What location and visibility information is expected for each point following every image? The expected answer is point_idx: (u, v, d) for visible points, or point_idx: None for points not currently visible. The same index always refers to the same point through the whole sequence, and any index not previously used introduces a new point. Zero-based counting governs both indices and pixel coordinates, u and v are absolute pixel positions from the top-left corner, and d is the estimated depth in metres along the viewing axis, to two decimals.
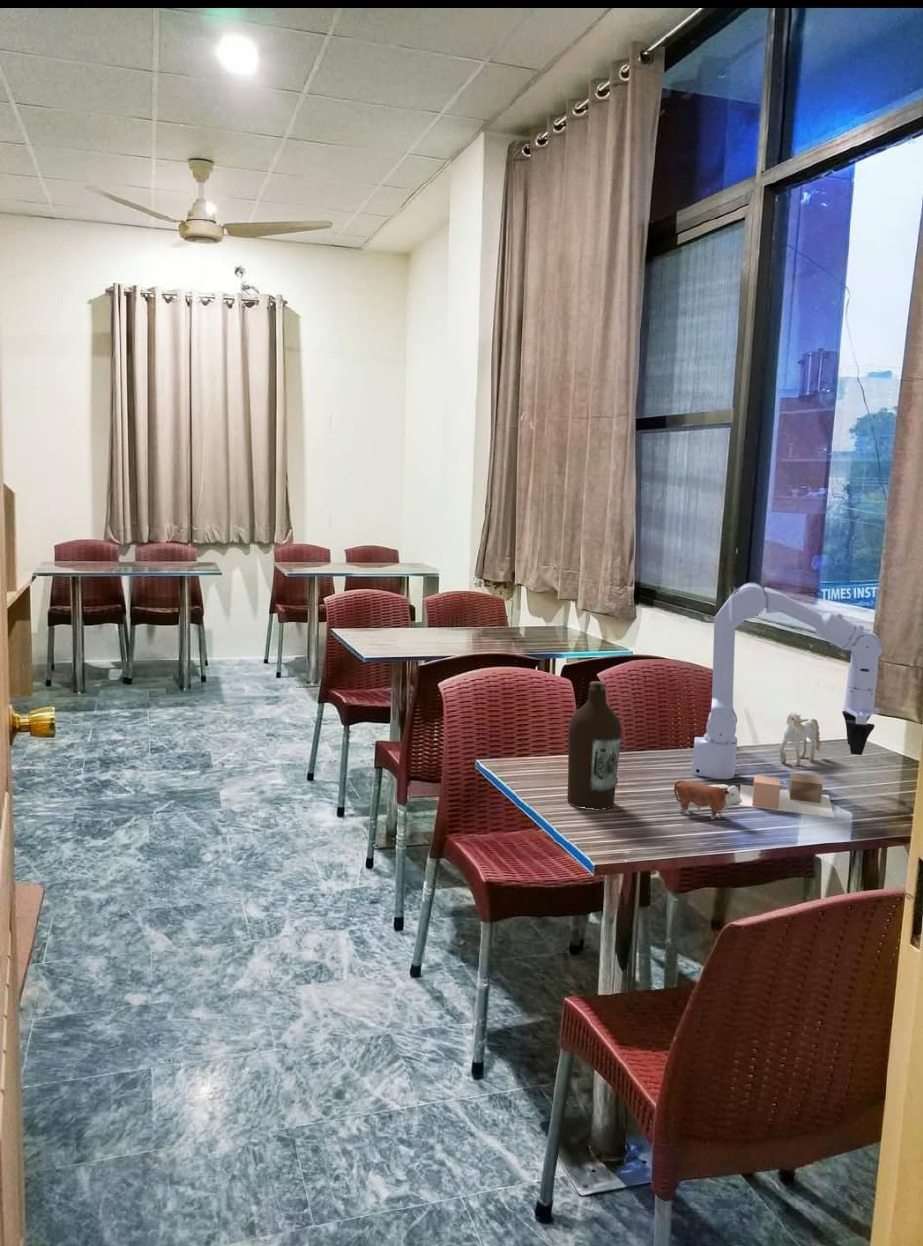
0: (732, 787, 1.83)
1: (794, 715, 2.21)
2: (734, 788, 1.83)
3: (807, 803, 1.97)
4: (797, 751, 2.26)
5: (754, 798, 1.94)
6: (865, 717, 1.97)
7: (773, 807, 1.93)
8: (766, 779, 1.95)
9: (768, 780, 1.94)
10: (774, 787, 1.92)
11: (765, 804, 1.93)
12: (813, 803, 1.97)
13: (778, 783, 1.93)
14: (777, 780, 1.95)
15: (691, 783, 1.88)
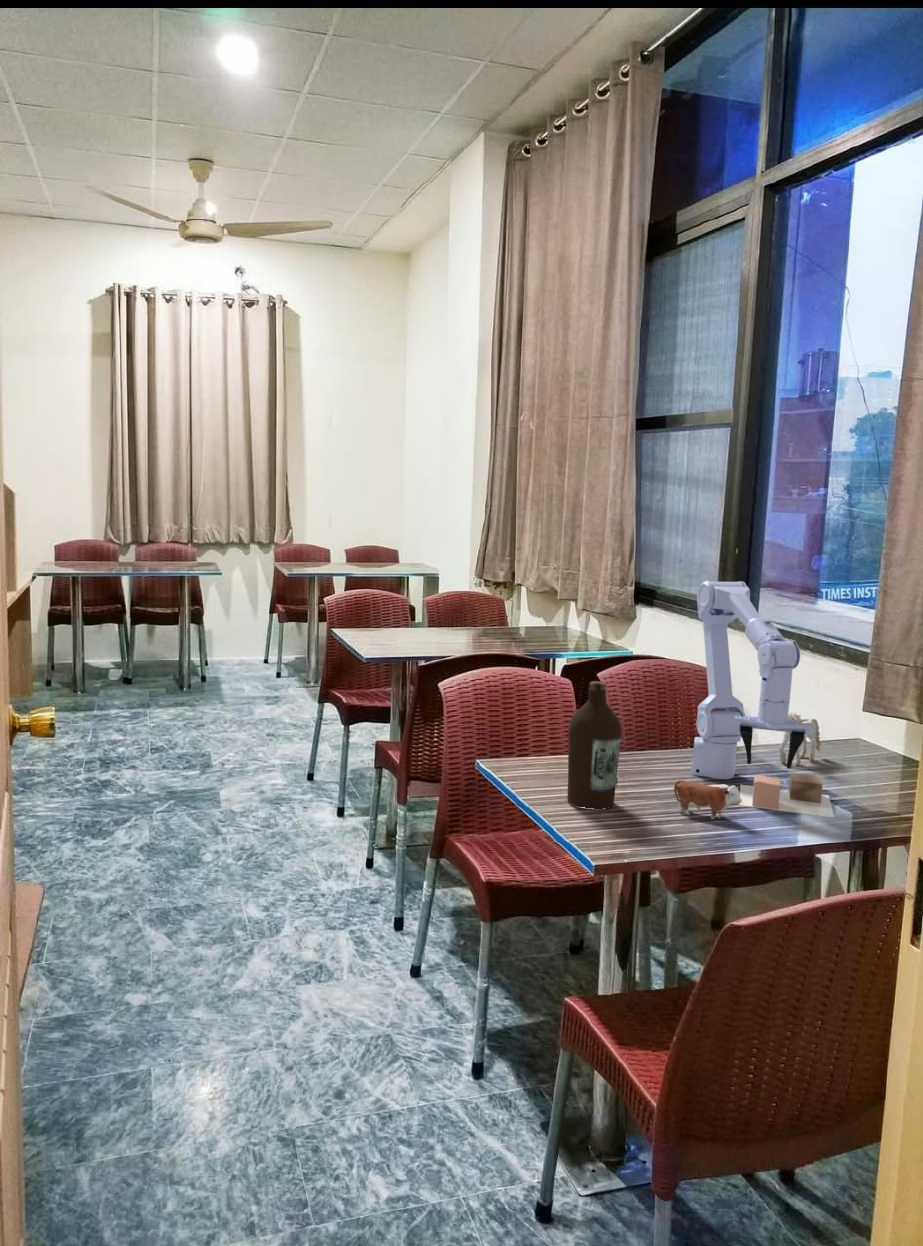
0: (732, 787, 1.83)
1: (794, 715, 2.21)
2: (734, 788, 1.83)
3: (807, 803, 1.97)
4: (797, 751, 2.26)
5: (754, 798, 1.94)
6: (735, 719, 1.94)
7: (773, 807, 1.93)
8: (766, 779, 1.95)
9: (768, 780, 1.94)
10: (774, 787, 1.92)
11: (765, 804, 1.93)
12: (813, 803, 1.97)
13: (778, 783, 1.93)
14: (777, 780, 1.95)
15: (691, 783, 1.88)
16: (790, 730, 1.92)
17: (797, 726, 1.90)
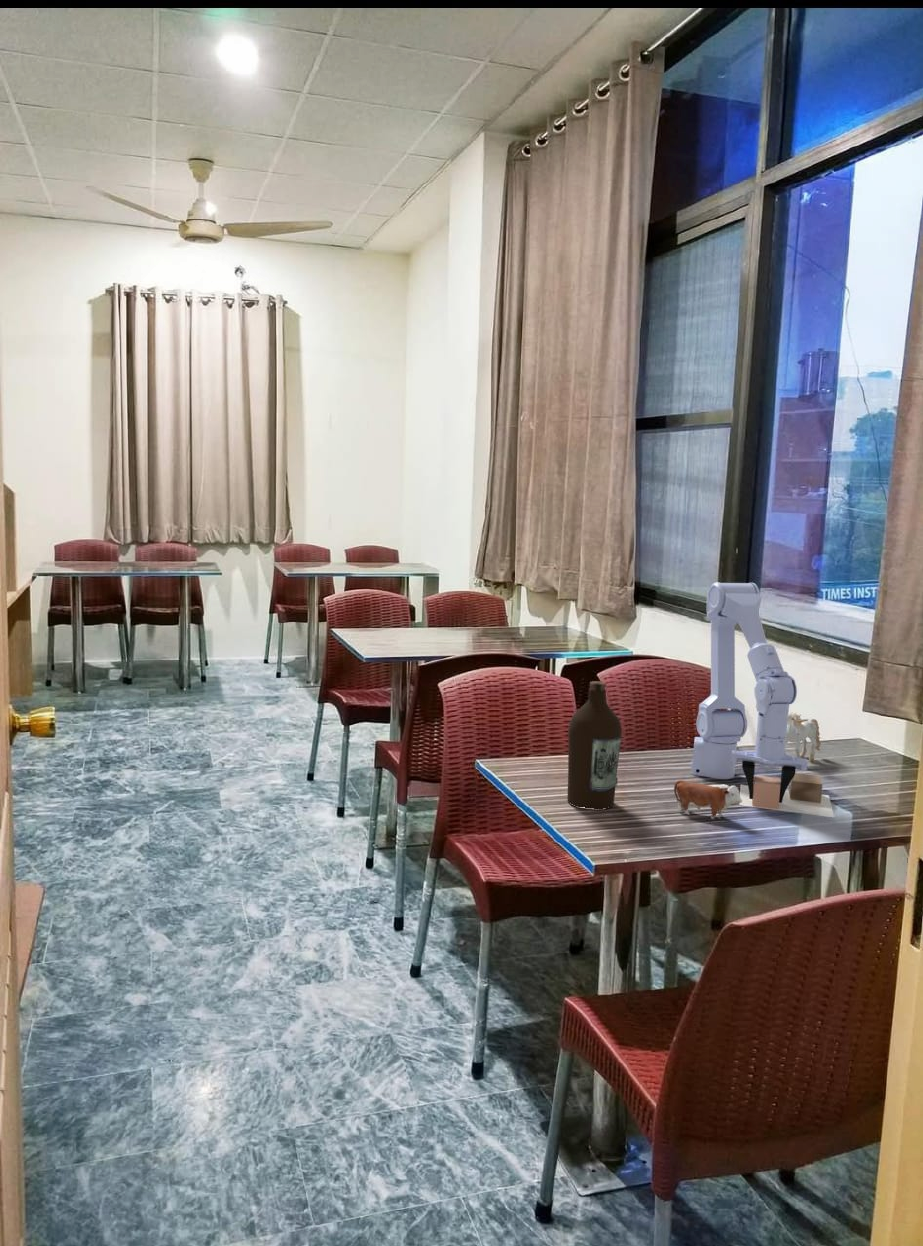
0: (732, 787, 1.83)
1: (794, 715, 2.21)
2: (734, 788, 1.83)
3: (807, 803, 1.97)
4: (797, 751, 2.26)
5: (754, 798, 1.94)
6: (732, 754, 1.95)
7: (773, 807, 1.93)
8: (766, 779, 1.95)
9: (768, 780, 1.94)
10: (774, 787, 1.92)
11: (765, 804, 1.93)
12: (813, 803, 1.97)
13: (778, 783, 1.93)
14: (777, 780, 1.95)
15: (691, 783, 1.88)
16: (787, 765, 1.93)
17: (794, 761, 1.91)
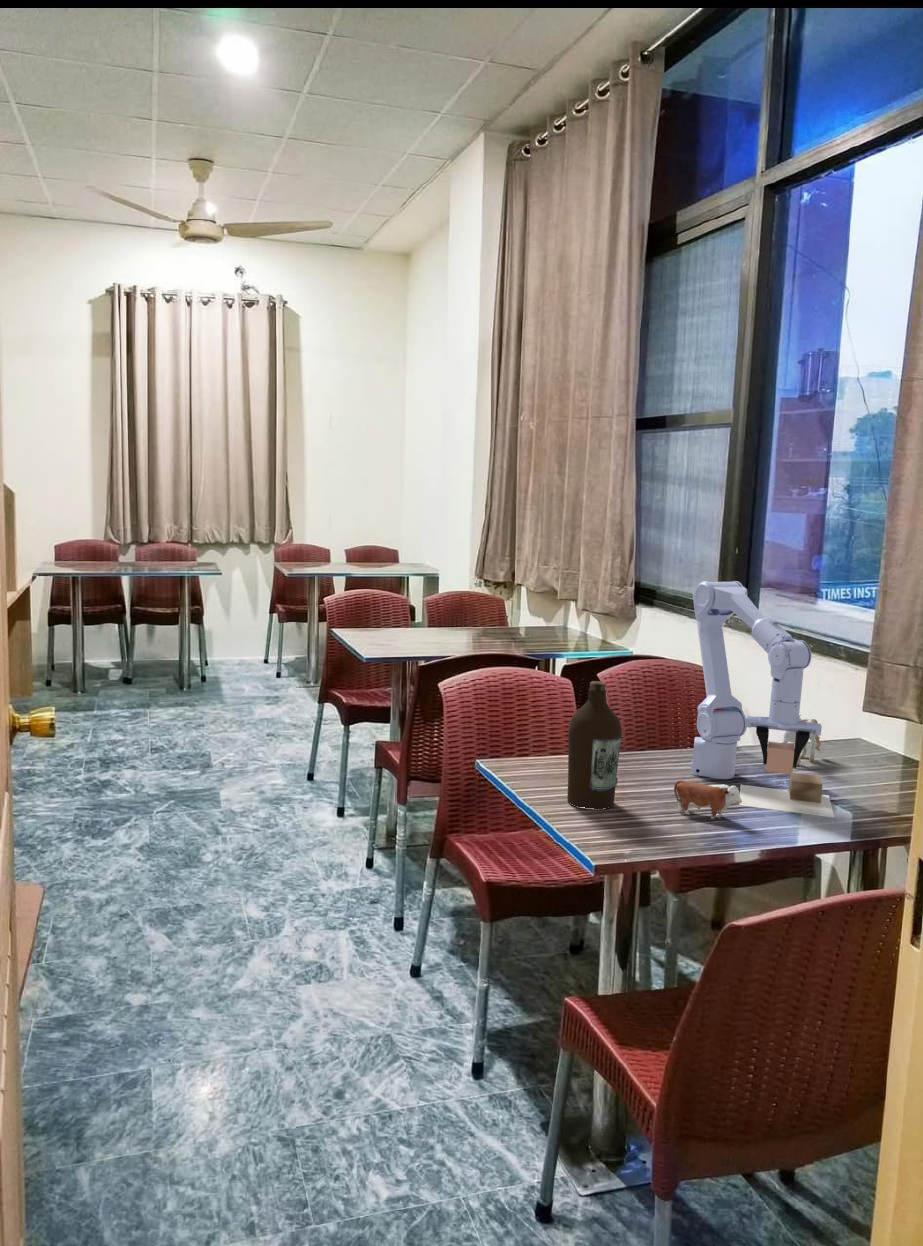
0: (732, 787, 1.83)
1: None
2: (734, 788, 1.83)
3: (807, 803, 1.97)
4: None
5: (768, 764, 1.94)
6: (746, 719, 1.96)
7: (787, 772, 1.93)
8: (780, 745, 1.95)
9: (782, 746, 1.95)
10: (788, 752, 1.92)
11: (779, 769, 1.93)
12: (813, 803, 1.97)
13: (792, 749, 1.93)
14: (791, 746, 1.95)
15: (691, 783, 1.88)
16: (801, 730, 1.93)
17: (808, 726, 1.92)
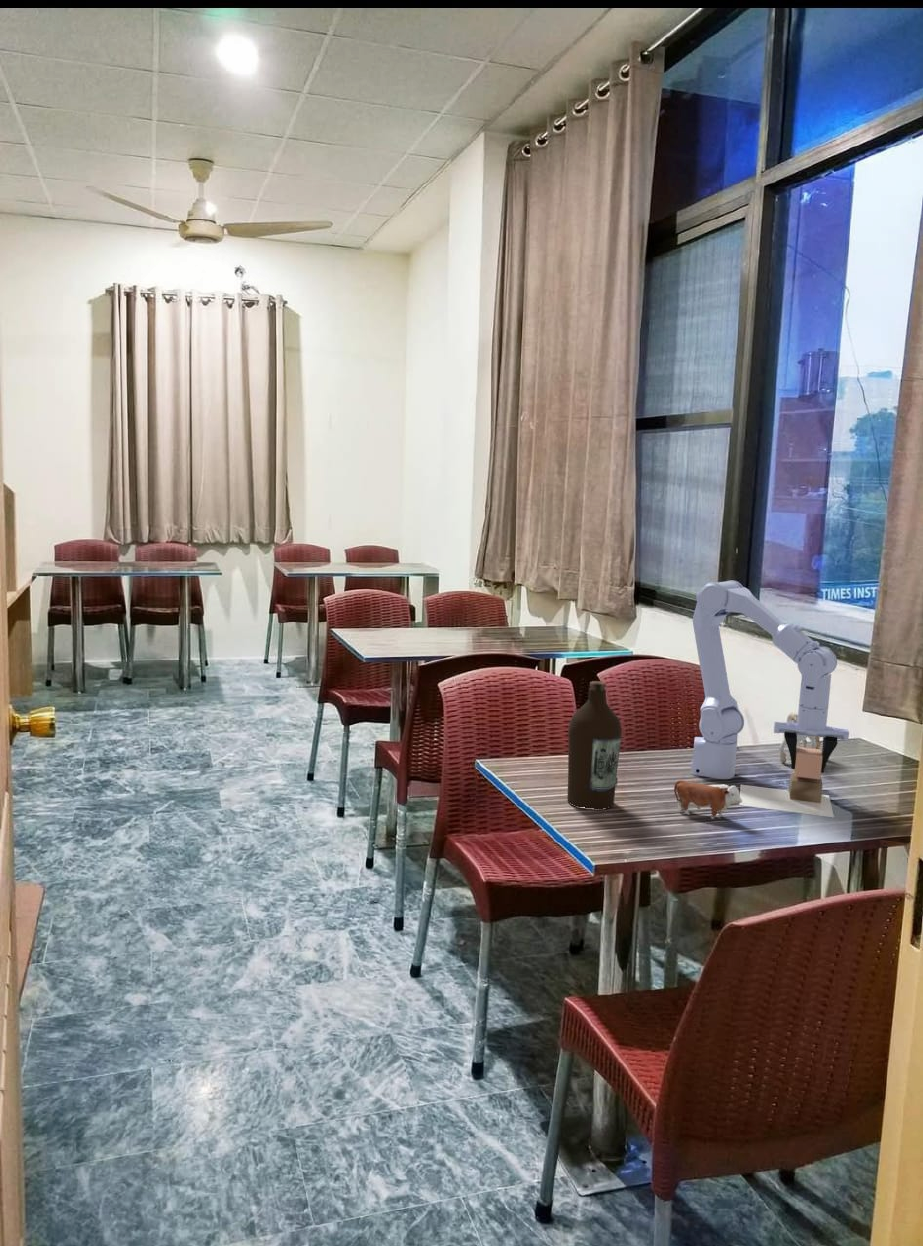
0: (732, 787, 1.83)
1: (794, 715, 2.21)
2: (734, 788, 1.83)
3: (807, 803, 1.97)
4: None
5: (796, 769, 1.98)
6: (774, 725, 2.00)
7: (815, 777, 1.97)
8: (808, 750, 1.99)
9: (810, 751, 1.99)
10: (816, 757, 1.97)
11: (807, 774, 1.98)
12: (813, 803, 1.97)
13: (820, 754, 1.97)
14: (819, 751, 1.99)
15: (691, 783, 1.88)
16: (828, 736, 1.98)
17: (836, 732, 1.96)
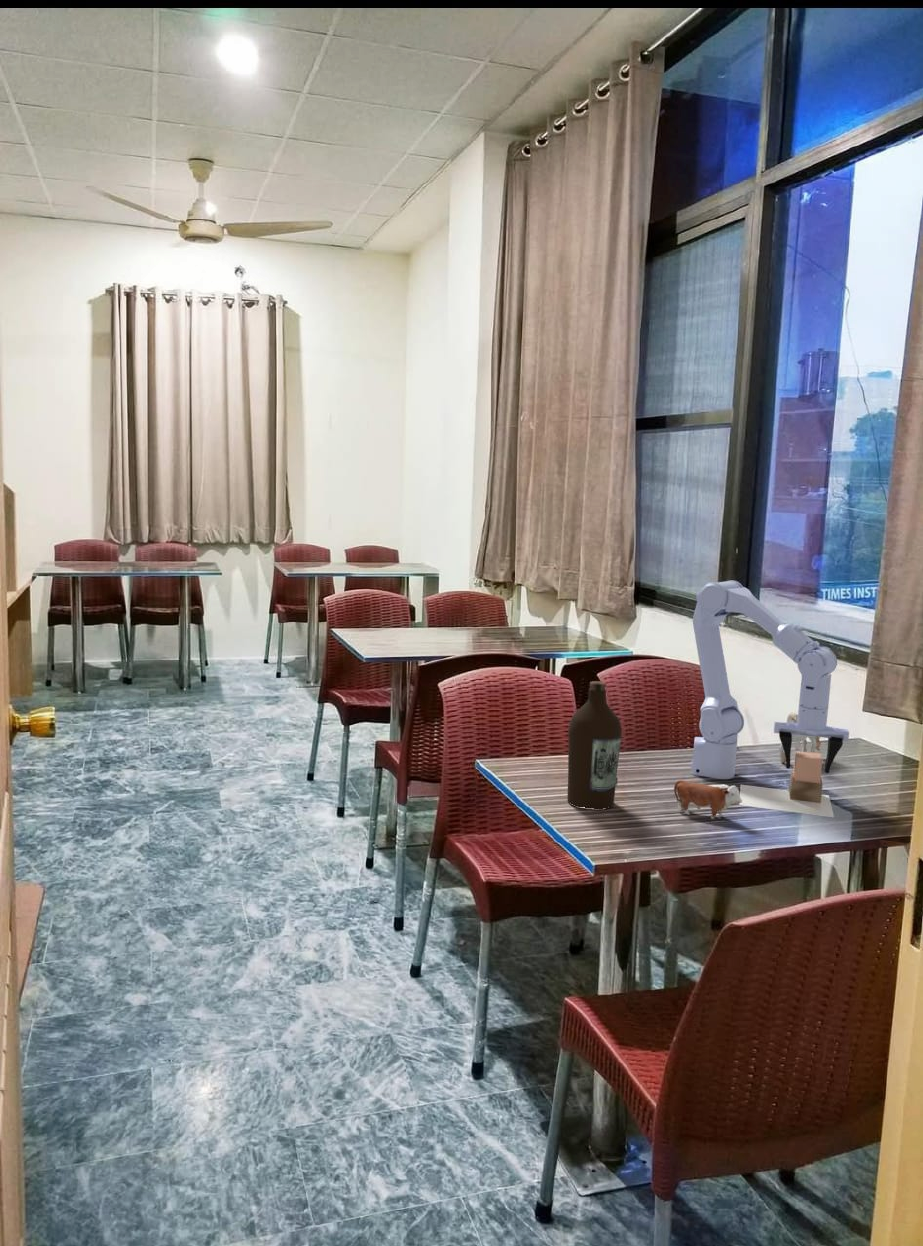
0: (732, 787, 1.83)
1: (794, 715, 2.21)
2: (734, 788, 1.83)
3: (807, 803, 1.97)
4: None
5: (796, 773, 1.98)
6: (774, 725, 2.00)
7: (815, 781, 1.97)
8: (807, 755, 2.00)
9: (809, 756, 1.99)
10: (816, 762, 1.97)
11: (807, 779, 1.98)
12: (813, 803, 1.97)
13: (820, 758, 1.97)
14: (818, 755, 1.99)
15: (691, 783, 1.88)
16: (828, 736, 1.98)
17: (836, 732, 1.96)
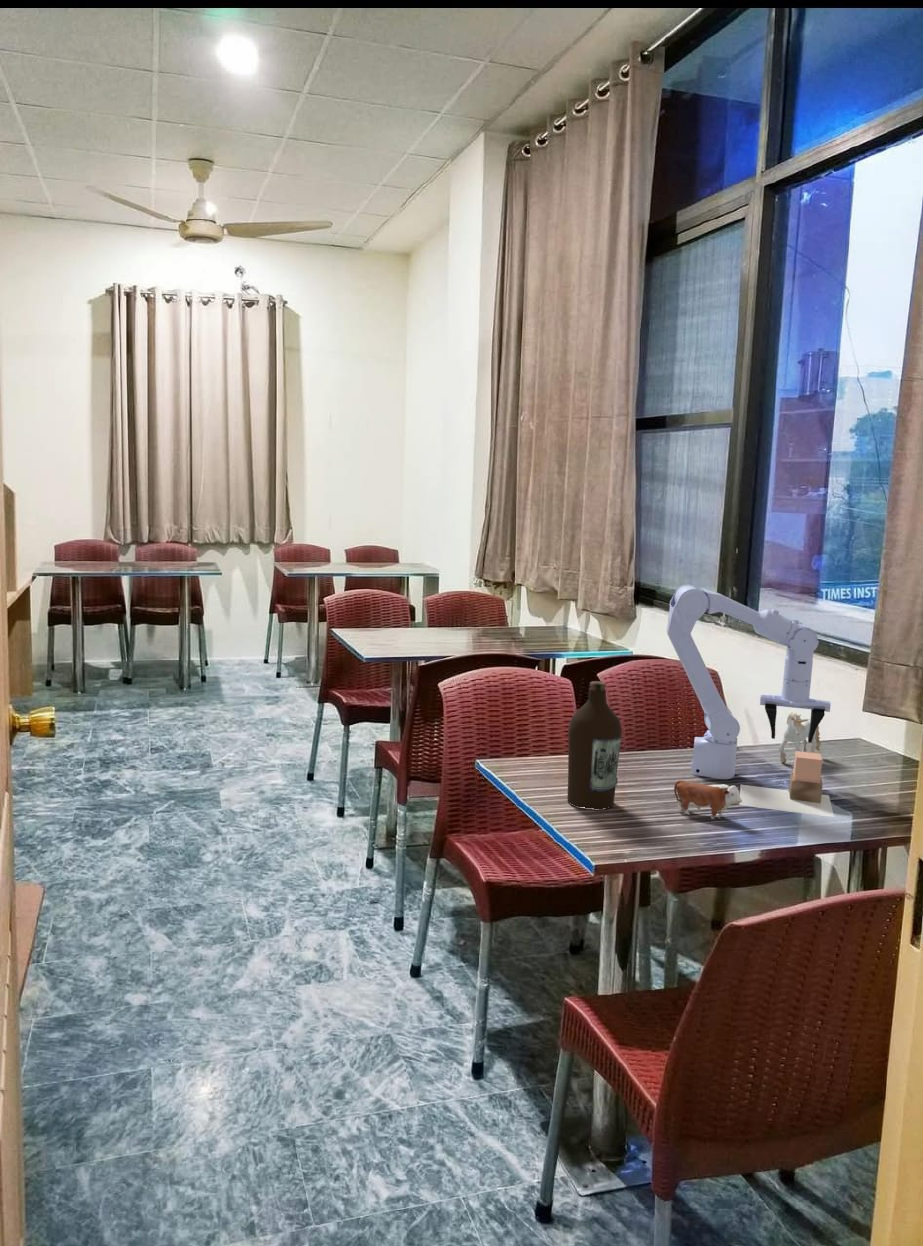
0: (732, 787, 1.83)
1: (794, 715, 2.21)
2: (734, 788, 1.83)
3: (807, 803, 1.97)
4: None
5: (796, 773, 1.98)
6: (760, 697, 2.12)
7: (815, 781, 1.97)
8: (807, 755, 2.00)
9: (809, 756, 1.99)
10: (816, 762, 1.97)
11: (807, 779, 1.98)
12: (813, 803, 1.97)
13: (820, 758, 1.97)
14: (818, 755, 1.99)
15: (691, 783, 1.88)
16: (811, 707, 2.09)
17: (818, 703, 2.08)
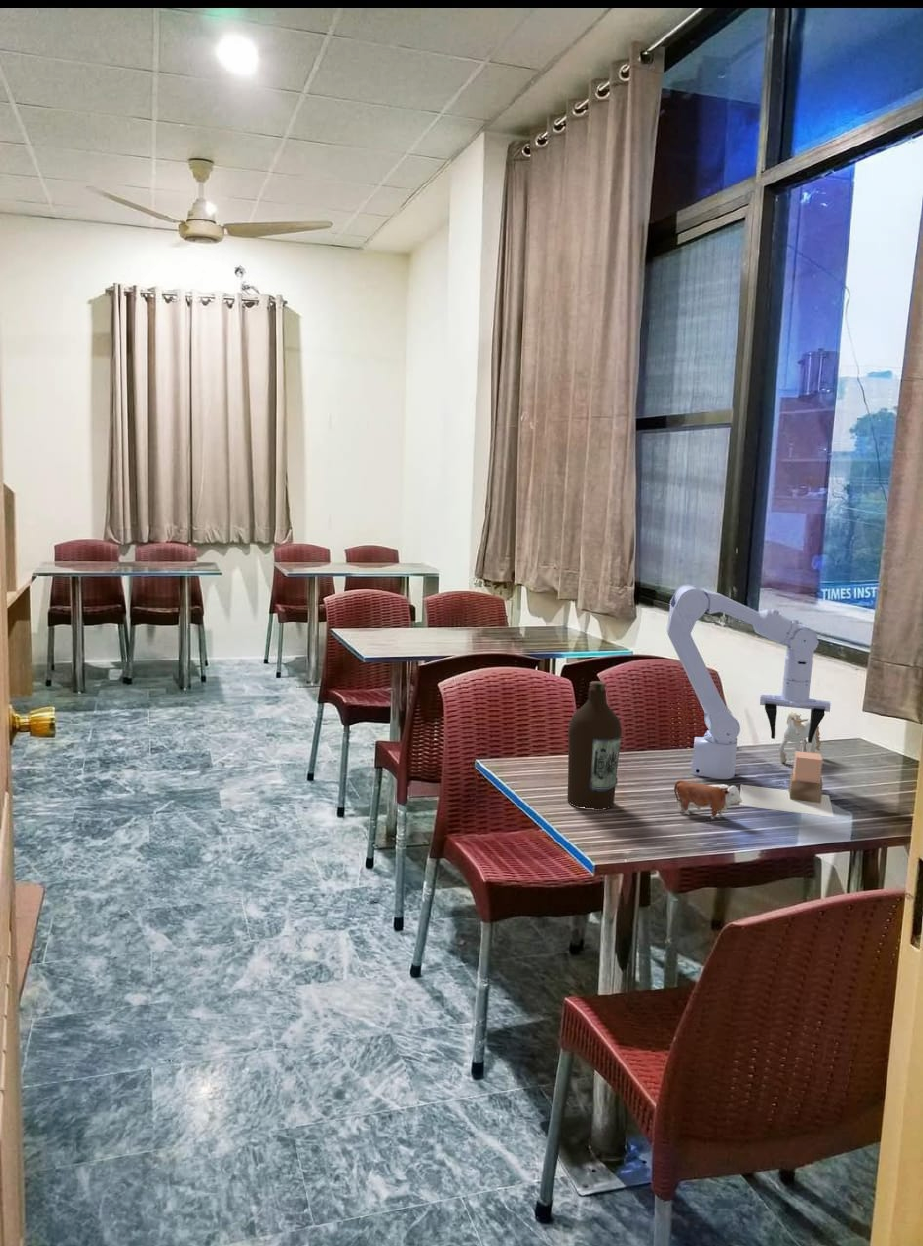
0: (732, 787, 1.83)
1: (794, 715, 2.21)
2: (734, 788, 1.83)
3: (807, 803, 1.97)
4: None
5: (796, 773, 1.98)
6: (760, 697, 2.12)
7: (815, 781, 1.97)
8: (807, 755, 2.00)
9: (809, 756, 1.99)
10: (816, 762, 1.97)
11: (807, 779, 1.98)
12: (813, 803, 1.97)
13: (820, 758, 1.97)
14: (818, 755, 1.99)
15: (691, 783, 1.88)
16: (811, 707, 2.09)
17: (818, 703, 2.08)
